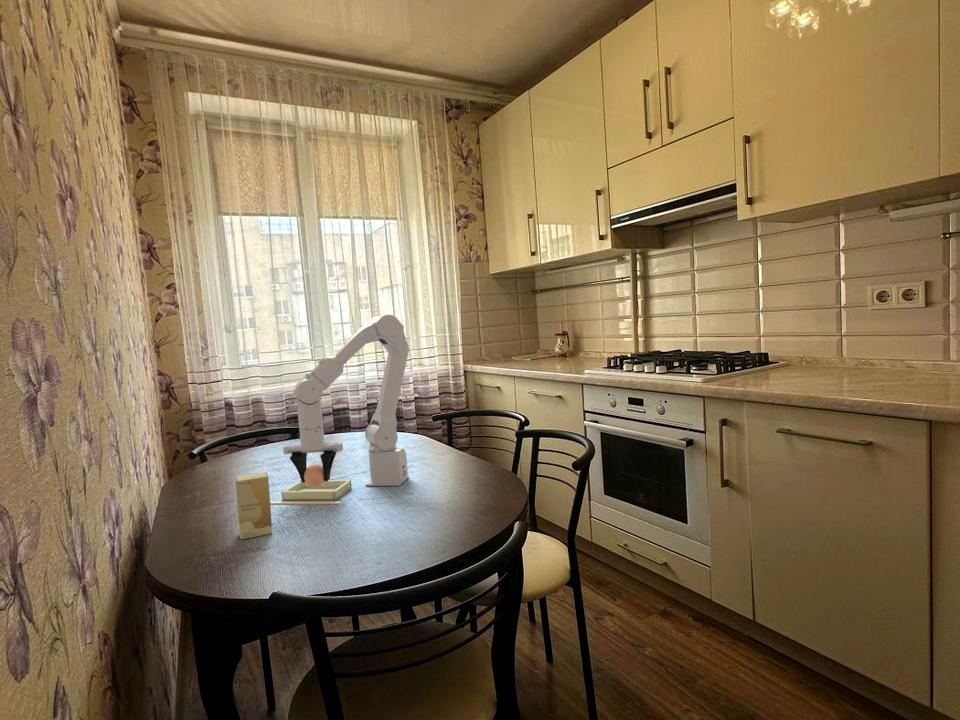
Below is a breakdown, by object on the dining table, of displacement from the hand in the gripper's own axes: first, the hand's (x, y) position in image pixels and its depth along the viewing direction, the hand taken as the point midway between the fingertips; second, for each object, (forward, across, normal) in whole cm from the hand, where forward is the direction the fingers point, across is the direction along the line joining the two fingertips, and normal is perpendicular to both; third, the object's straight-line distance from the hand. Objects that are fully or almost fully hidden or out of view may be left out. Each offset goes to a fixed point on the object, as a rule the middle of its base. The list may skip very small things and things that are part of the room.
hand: (316, 480), depth 137 cm
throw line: (+4, +1, +6) cm, 7 cm away
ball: (-1, 0, 0) cm, 1 cm away
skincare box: (+4, +4, +24) cm, 25 cm away
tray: (+4, 0, 0) cm, 4 cm away
